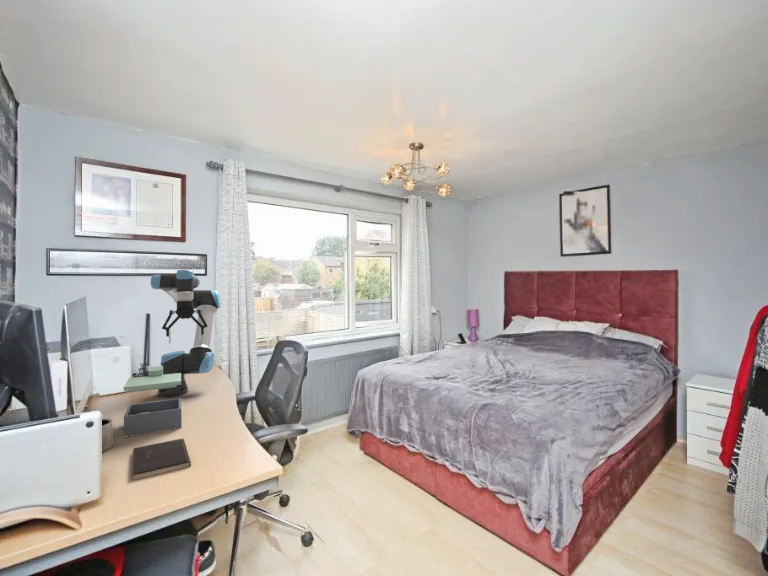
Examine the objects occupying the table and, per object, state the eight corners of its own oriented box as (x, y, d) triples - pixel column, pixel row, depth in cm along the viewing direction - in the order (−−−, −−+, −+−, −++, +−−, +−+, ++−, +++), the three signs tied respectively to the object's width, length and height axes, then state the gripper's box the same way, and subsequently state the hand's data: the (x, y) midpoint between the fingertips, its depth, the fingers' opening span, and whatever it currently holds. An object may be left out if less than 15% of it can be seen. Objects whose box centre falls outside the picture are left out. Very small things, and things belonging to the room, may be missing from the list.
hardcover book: (132, 482, 113) (132, 474, 113) (133, 454, 132) (133, 448, 132) (190, 467, 122) (190, 460, 122) (184, 444, 141) (184, 438, 141)
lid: (131, 380, 171) (131, 368, 171) (181, 374, 180) (181, 364, 180) (123, 394, 147) (123, 380, 147) (181, 387, 157) (181, 375, 157)
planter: (80, 447, 138) (80, 421, 138) (115, 442, 142) (115, 417, 142) (69, 459, 128) (69, 431, 128) (107, 453, 132) (107, 426, 132)
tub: (129, 423, 163) (129, 404, 163) (181, 415, 172) (181, 398, 172) (123, 437, 147) (123, 416, 147) (181, 427, 157) (181, 408, 157)
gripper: (155, 301, 179) (156, 345, 179) (212, 299, 191) (212, 341, 191) (156, 300, 186) (157, 343, 186) (211, 299, 198) (211, 339, 198)
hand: (185, 342), depth 188 cm, fingers open, 13 cm apart
